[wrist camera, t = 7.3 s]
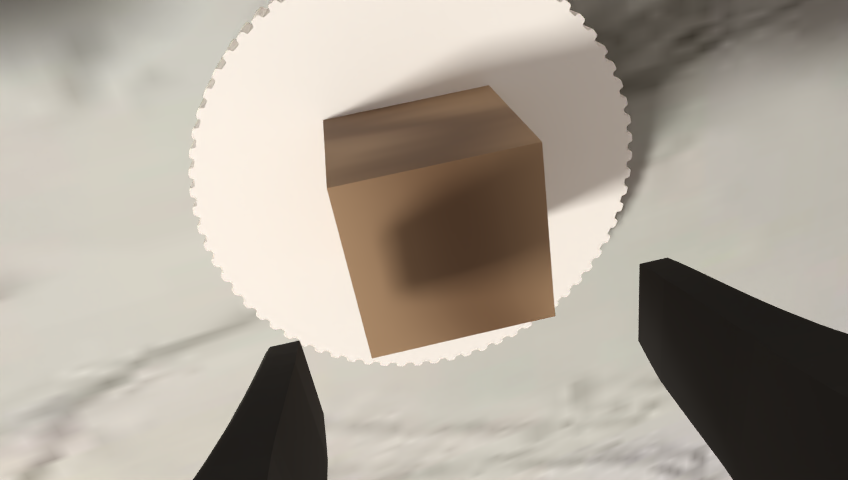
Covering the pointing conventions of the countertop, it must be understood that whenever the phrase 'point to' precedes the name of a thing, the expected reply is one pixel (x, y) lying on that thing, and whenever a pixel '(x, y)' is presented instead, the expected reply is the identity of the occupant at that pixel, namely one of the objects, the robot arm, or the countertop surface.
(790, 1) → the countertop surface
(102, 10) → the countertop surface
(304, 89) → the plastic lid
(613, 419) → the countertop surface
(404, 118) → the walnut cube
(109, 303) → the countertop surface
